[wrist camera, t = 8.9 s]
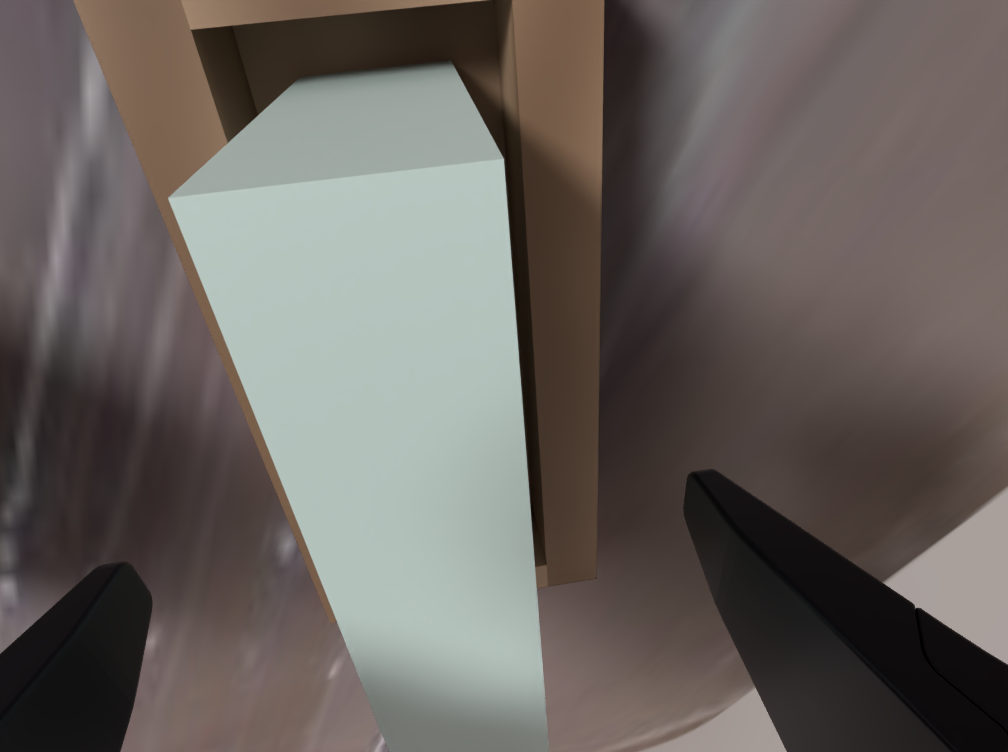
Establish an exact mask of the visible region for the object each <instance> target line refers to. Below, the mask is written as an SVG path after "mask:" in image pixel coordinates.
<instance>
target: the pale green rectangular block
mask: <svg viewBox="0 0 1008 752" xmlns="http://www.w3.org/2000/svg"><path fill="white" fill-rule="evenodd" d="M168 199H169V202H170V204H171V207H172V209H173V212H174V214H175V217H176V219H177V222H178V225H179V227H180V230H181V232H182V235H183V237H184V240H185V242H186V245H187V247H188V250H189V252H190V255H191V257H192V260H193V262H194V265H195V267H196V270H197V272H198V275H199V277H200V280H201V282H202V285H203V287H204V290H205V292H206V295H207V297H208V300H209V302H210V305H211V307H212V310H213V312H214V315H215V317H216V320H217V322H218V325H219V327H220V330H221V332H222V335H223V337H224V340H225V342H226V345H227V347H228V350H229V352H230V355H231V357H232V360H233V362H234V365H235V367H236V370H237V372H238V375H239V377H240V380H241V382H242V385H243V387H244V390H245V392H246V395H247V397H248V400H249V402H250V405H251V407H252V410H253V412H254V415H255V417H256V420H257V422H258V425H259V427H260V430H261V432H262V435H263V437H264V440H265V442H266V445H267V447H268V450H269V452H270V455H271V457H272V460H273V462H274V465H275V467H276V470H277V473H278V475H279V478H280V480H281V483H282V485H283V488H284V490H285V493H286V495H287V498H288V500H289V503H290V505H291V508H292V510H293V513H294V515H295V518H296V520H297V523H298V525H299V528H300V530H301V533H302V535H303V538H304V540H305V543H306V545H307V548H308V550H309V553H310V555H311V558H312V560H313V563H314V565H315V568H316V570H317V573H318V575H319V578H320V580H321V583H322V585H323V588H324V590H325V593H326V595H327V598H328V600H329V603H330V605H331V608H332V610H333V613H334V615H335V618H336V620H337V623H338V625H339V628H340V630H341V633H342V635H343V638H344V640H345V643H346V645H347V648H348V650H349V653H350V655H351V658H352V660H353V663H354V665H355V668H356V670H357V673H358V675H359V678H360V680H361V683H362V685H363V688H364V690H365V693H366V695H367V698H368V700H369V703H370V705H371V708H372V710H373V713H374V716H375V718H376V721H377V723H378V726H379V728H380V731H381V733H382V736H383V738H384V741H385V743H386V746H387V748H388V751H389V752H549V744H548V731H547V718H546V704H545V691H544V678H543V665H542V652H541V639H540V626H539V613H538V600H537V587H536V574H535V560H534V547H533V534H532V521H531V508H530V495H529V482H528V469H527V456H526V443H525V430H524V416H523V403H522V390H521V377H520V364H519V351H518V338H517V325H516V312H515V299H514V285H513V272H512V259H511V246H510V233H509V220H508V207H507V194H506V181H505V168H504V158H503V156H502V154H501V153H500V151H499V149H498V147H497V145H496V143H495V141H494V140H493V138H492V136H491V134H490V132H489V130H488V128H487V127H486V125H485V123H484V121H483V119H482V117H481V115H480V114H479V112H478V110H477V108H476V106H475V104H474V102H473V101H472V99H471V97H470V95H469V93H468V91H467V89H466V88H465V86H464V84H463V82H462V80H461V78H460V77H459V75H458V73H457V71H456V69H455V67H454V65H453V64H452V62H451V61H441V62H432V63H422V64H413V65H403V66H394V67H384V68H375V69H365V70H356V71H346V72H337V73H327V74H317V75H308V76H301V77H300V78H299V79H298V80H296V81H295V82H294V83H293V84H292V85H291V86H290V87H289V88H288V89H287V90H286V91H284V92H283V93H282V94H281V95H280V96H279V97H278V98H277V99H276V100H275V101H273V102H272V103H271V104H270V105H269V106H268V107H267V108H266V109H265V110H264V111H263V112H261V113H260V114H259V115H258V116H257V117H256V118H255V119H254V120H253V121H252V122H251V123H249V124H248V125H247V126H246V127H245V128H244V129H243V130H242V131H241V132H240V133H238V134H237V135H236V136H235V137H234V138H233V139H232V140H231V141H230V142H229V143H228V144H226V145H225V146H224V147H223V148H222V149H221V150H220V151H219V152H218V153H217V154H216V155H214V156H213V157H212V158H211V159H210V160H209V161H208V162H207V163H206V164H205V165H204V166H202V167H201V168H200V169H199V170H198V171H197V172H196V173H195V174H194V175H193V176H191V177H190V178H189V179H188V180H187V181H186V182H185V183H184V184H183V185H182V186H181V187H179V188H178V189H177V190H176V191H175V192H174V193H173V194H172V195H171V196H170V197H169V198H168Z"/></svg>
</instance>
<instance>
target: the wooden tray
mask: <svg viewBox="0 0 1008 752" xmlns="http://www.w3.org/2000/svg"><path fill="white" fill-rule="evenodd" d="M73 1H74V4H75V6H76V8H77V11H78V13H79V16H80V18H81V20H82V23H83V25H84V28H85V30H86V33H87V35H88V37H89V40H90V42H91V45H92V47H93V50H94V52H95V54H96V57H97V59H98V62H99V64H100V67H101V69H102V71H103V74H104V76H105V79H106V81H107V83H108V86H109V88H110V91H111V93H112V96H113V98H114V100H115V103H116V105H117V108H118V110H119V113H120V115H121V117H122V120H123V122H124V125H125V127H126V130H127V132H128V134H129V137H130V139H131V142H132V144H133V146H134V149H135V151H136V154H137V156H138V159H139V161H140V163H141V166H142V168H143V171H144V173H145V176H146V178H147V180H148V183H149V185H150V188H151V190H152V193H153V195H154V197H155V200H156V202H157V205H158V207H159V210H160V212H161V214H162V217H163V219H164V222H165V224H166V226H167V229H168V231H169V234H170V236H171V239H172V241H173V243H174V246H175V248H176V251H177V253H178V256H179V258H180V260H181V263H182V265H183V268H184V270H185V273H186V275H187V277H188V280H189V282H190V285H191V287H192V289H193V292H194V294H195V297H196V299H197V302H198V304H199V306H200V309H201V311H202V314H203V316H204V319H205V321H206V323H207V326H208V328H209V331H210V333H211V336H212V338H213V340H214V343H215V345H216V348H217V350H218V352H219V355H220V357H221V360H222V362H223V365H224V367H225V369H226V372H227V374H228V377H229V379H230V382H231V384H232V386H233V389H234V391H235V394H236V396H237V399H238V401H239V403H240V406H241V408H242V411H243V413H244V415H245V418H246V420H247V423H248V425H249V428H250V430H251V432H252V435H253V437H254V440H255V442H256V445H257V447H258V449H259V452H260V454H261V457H262V459H263V462H264V464H265V466H266V469H267V471H268V474H269V476H270V478H271V481H272V483H273V486H274V488H275V491H276V493H277V495H278V498H279V500H280V503H281V505H282V508H283V510H284V512H285V515H286V517H287V520H288V522H289V525H290V527H291V529H292V532H293V534H294V537H295V539H296V541H297V544H298V546H299V549H300V551H301V554H302V556H303V558H304V561H305V563H306V566H307V568H308V571H309V573H310V575H311V578H312V580H313V583H314V585H315V588H316V590H317V592H318V595H319V597H320V600H321V602H322V605H323V607H324V609H325V612H326V614H327V617H328V619H329V621H330V623H334V622H337V620H336V618H335V615H334V613H333V610H332V608H331V605H330V603H329V600H328V598H327V595H326V593H325V590H324V588H323V585H322V583H321V580H320V578H319V575H318V573H317V570H316V568H315V565H314V563H313V560H312V558H311V555H310V553H309V550H308V548H307V545H306V543H305V540H304V538H303V535H302V533H301V530H300V528H299V525H298V523H297V520H296V518H295V515H294V513H293V510H292V508H291V505H290V503H289V500H288V498H287V495H286V493H285V490H284V488H283V485H282V483H281V480H280V478H279V475H278V473H277V470H276V467H275V465H274V462H273V460H272V457H271V455H270V452H269V450H268V447H267V445H266V442H265V440H264V437H263V435H262V432H261V430H260V427H259V425H258V422H257V420H256V417H255V415H254V412H253V410H252V407H251V405H250V402H249V400H248V397H247V395H246V392H245V390H244V387H243V385H242V382H241V380H240V377H239V375H238V372H237V370H236V367H235V365H234V362H233V360H232V357H231V355H230V352H229V350H228V347H227V345H226V342H225V340H224V337H223V335H222V332H221V330H220V327H219V325H218V322H217V320H216V317H215V315H214V312H213V310H212V307H211V305H210V302H209V300H208V297H207V295H206V292H205V290H204V287H203V285H202V282H201V280H200V277H199V275H198V272H197V270H196V267H195V265H194V262H193V260H192V257H191V255H190V252H189V250H188V247H187V245H186V242H185V240H184V237H183V235H182V232H181V230H180V227H179V225H178V222H177V219H176V217H175V214H174V212H173V209H172V207H171V204H170V202H169V199H168V198H169V197H170V196H171V195H172V194H173V193H174V192H175V191H176V190H177V189H178V188H179V187H181V186H182V185H183V184H184V183H185V182H186V181H187V180H188V179H189V178H190V177H191V176H193V175H194V174H195V173H196V172H197V171H198V170H199V169H200V168H201V167H202V166H204V165H205V164H206V163H207V162H208V161H209V160H210V159H211V158H212V157H213V156H214V155H216V154H217V153H218V152H219V151H220V150H221V149H222V148H223V147H224V146H225V145H226V144H228V143H229V142H230V141H231V140H232V139H233V138H234V137H235V136H236V135H237V134H238V133H240V132H241V131H242V130H243V129H244V128H245V127H246V126H247V125H248V124H249V123H251V122H252V121H253V120H254V119H255V118H256V117H257V116H258V115H259V114H260V113H261V112H263V111H264V110H265V109H266V108H267V107H268V106H269V105H270V104H271V103H272V102H273V101H275V100H276V99H277V98H278V97H279V96H280V95H281V94H282V93H283V92H284V91H286V90H287V89H288V88H289V87H290V86H291V85H292V84H293V83H294V82H295V81H296V80H298V79H299V78H300V77H301V76H308V75H317V74H327V73H337V72H346V71H356V70H365V69H375V68H384V67H394V66H403V65H413V64H422V63H432V62H441V61H451V62H452V64H453V65H454V67H455V69H456V71H457V73H458V75H459V77H460V78H461V80H462V82H463V84H464V86H465V88H466V89H467V91H468V93H469V95H470V97H471V99H472V101H473V102H474V104H475V106H476V108H477V110H478V112H479V114H480V115H481V117H482V119H483V121H484V123H485V125H486V127H487V128H488V130H489V132H490V134H491V136H492V138H493V140H494V141H495V143H496V145H497V147H498V149H499V151H500V153H501V154H502V156H503V158H504V168H505V181H506V194H507V207H508V220H509V233H510V246H511V259H512V272H513V285H514V299H515V312H516V325H517V338H518V351H519V364H520V377H521V390H522V403H523V416H524V430H525V443H526V456H527V469H528V482H529V495H530V508H531V521H532V534H533V547H534V560H535V574H536V587H537V588H543V587H549V586H555V585H561V584H567V583H573V582H579V581H585V580H591V579H597V516H598V440H599V364H600V287H601V211H602V135H603V59H604V0H73Z"/></svg>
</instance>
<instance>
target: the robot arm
mask: <svg viewBox="0 0 1008 752" xmlns="http://www.w3.org/2000/svg"><path fill="white" fill-rule="evenodd" d="M683 509H684V517H685V520H686V523H687V526H688V529H689V532H690V535H691V538H692V540H693V543H694V546H695V549H696V552H697V554H698V557H699V560H700V563H701V566H702V568H703V571H704V574H705V577H706V580H707V583H708V585H709V588H710V591H711V594H712V596H713V599H714V601H715V604H716V606H717V608H718V611H719V613H720V615H721V617H722V619H723V621H724V623H725V625H726V628H727V630H728V632H729V634H730V636H731V638H732V640H733V642H734V644H735V646H736V648H737V650H738V652H739V654H740V656H741V658H742V660H743V662H744V665H745V667H746V669H747V671H748V673H749V675H750V677H751V679H752V681H753V683H754V685H755V687H756V689H757V691H758V693H759V695H760V697H761V699H762V701H763V704H764V706H765V707H766V710H767V712H768V714H769V716H770V718H771V720H772V722H773V724H774V726H775V728H776V730H777V732H778V734H779V736H780V739H781V741H782V743H783V745H784V747H785V749H786V751H787V752H1008V664H1006V663H1004V662H1002V661H1001V660H999V659H998V658H996V657H994V656H992V655H991V654H989V653H988V652H986V651H984V650H983V649H981V648H980V647H978V646H977V645H975V644H974V643H972V642H971V641H969V640H967V639H966V638H964V637H963V636H961V635H960V634H958V633H957V632H955V631H954V630H952V629H951V628H949V627H948V626H946V625H944V624H943V623H942V622H940V621H939V620H937V619H936V618H934V617H933V616H931V615H930V614H928V613H927V612H925V611H924V610H922V609H921V608H916V609H915V606H914V604H913V603H912V602H910V601H909V600H907V599H906V598H904V597H903V596H901V595H900V594H898V593H897V592H895V591H894V590H892V589H891V588H889V587H888V586H886V585H885V584H884V583H882V582H881V581H879V580H878V579H876V578H875V577H873V576H872V575H870V574H869V573H867V572H866V571H864V570H863V569H861V568H860V567H858V566H857V565H855V564H854V563H852V562H851V561H849V560H848V559H847V558H845V557H844V556H842V555H841V554H839V553H838V552H836V551H835V550H833V549H832V548H830V547H829V546H827V545H826V544H824V543H823V542H821V541H820V540H818V539H817V538H815V537H814V536H812V535H811V534H810V533H808V532H807V531H805V530H804V529H802V528H801V527H799V526H798V525H796V524H795V523H793V522H792V521H790V520H789V519H787V518H786V517H784V516H783V515H781V514H780V513H778V512H777V511H775V510H774V509H773V508H771V507H770V506H768V505H767V504H765V503H764V502H762V501H761V500H759V499H758V498H756V497H755V496H753V495H752V494H750V493H749V492H747V491H746V490H744V489H743V488H741V487H740V486H739V485H737V484H736V483H734V482H733V481H731V480H730V479H728V478H727V477H725V476H724V475H722V474H721V473H719V472H718V471H716V470H713V469H707V470H701V471H694V472H691V473H690V474H689V475H688V477H687V483H686V490H685V498H684V506H683ZM151 612H152V596H151V593H150V591H149V590H148V588H147V587H146V585H145V584H144V582H143V581H142V579H141V578H140V576H139V575H138V573H137V572H136V570H135V569H134V567H133V566H132V565H131V564H130V563H128V562H118V563H111V564H105V565H101V566H98V567H97V568H95V569H94V570H93V571H91V572H90V573H89V574H88V575H87V576H86V577H85V578H84V579H83V580H82V581H80V582H79V583H78V584H77V585H76V586H75V587H74V588H73V589H72V590H70V591H69V592H68V593H67V594H66V595H65V596H64V597H63V598H62V599H61V600H59V601H58V602H57V603H56V604H55V605H54V606H53V607H52V608H51V609H49V610H48V611H47V612H46V613H45V614H44V615H43V616H42V617H41V618H40V619H38V620H37V621H36V622H35V623H34V624H33V625H32V626H31V627H30V628H28V629H27V630H26V631H25V632H24V633H23V634H22V635H21V636H20V637H19V638H17V639H16V640H15V641H14V642H13V643H12V644H11V645H10V646H9V647H7V648H6V649H5V650H4V651H3V652H2V653H1V654H0V752H120V751H121V748H122V744H123V741H124V738H125V734H126V731H127V727H128V724H129V721H130V717H131V713H132V710H133V706H134V702H135V697H136V693H137V688H138V682H139V677H140V672H141V666H142V661H143V655H144V650H145V645H146V639H147V634H148V629H149V623H150V618H151Z"/></svg>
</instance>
